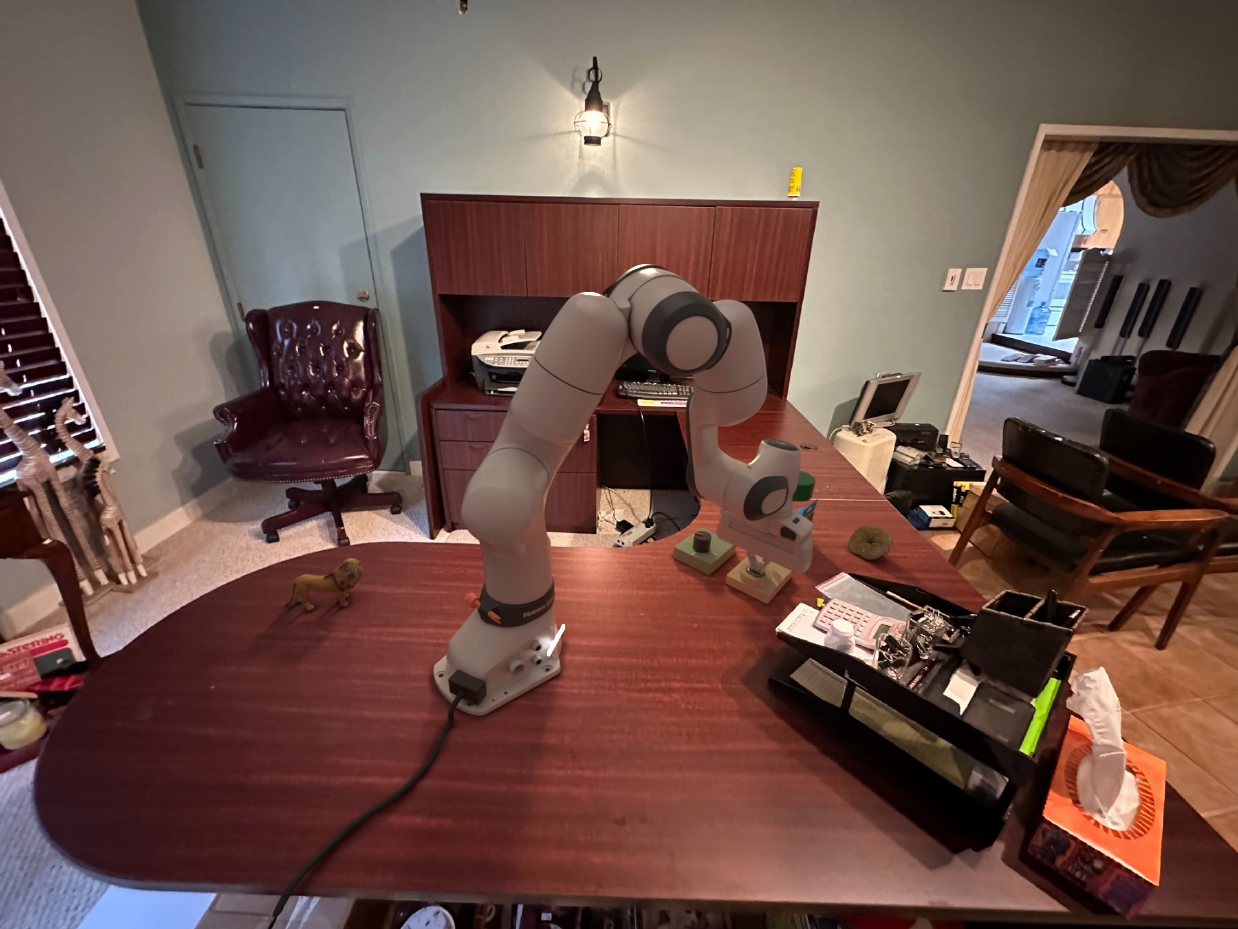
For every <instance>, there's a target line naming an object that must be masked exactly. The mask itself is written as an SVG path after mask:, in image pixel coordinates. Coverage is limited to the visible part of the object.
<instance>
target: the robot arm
mask: <svg viewBox="0 0 1238 929" xmlns="http://www.w3.org/2000/svg"><path fill="white" fill-rule="evenodd" d="M638 353H640V354H641V355H642V356H643V357H644V358H646V360H647V361H648V363H650V364H651V366H653V367H654V368H655V369H657V370H659V371H661V372H662V373H664V374H666V375H670V376H673V377H688V376H689V377H690V376H692V380H693V386H694V388H693V390H692V391H691V393H690V394H689V395H688V398H687V400H686V403H685V432H686V446H687V467H686V475H685V477H686V484H687V488H688V490H689V492H690V493H691V494H692V495H693V496H695V497H697V498H699V499H702V500H704V501H707V502H710V503H712V504H714V505H716V506H718V507H720V517H719V520H718V523H717V526H716V531H715V534H717V536H718V538H719V539H721V540H723V541H726V542H728V543H730V544H732V545H735V546H736V548H740V549H741V550H744V551H745V552H746V557H748V559H749V562H750V567H749V569H751V570H753V571H756V572H758V573H760V574H763V573H764V572H765V569H766V566H767V565H768V564H769V563H770V562H773V563H776V564H778V565H780V566H783V567H785V568H787V569H789V570H792V572H794V573H796V574H798V575H802V574H804V573H806V572H807V571H808V570H809V569H810V567H811V565H812V562H813V561H812V560H813V555H814V538H813V537H812V536H811V534H812V532H813V530H814V528H815V524H814V523H813V521H812V522H811V521H809V520H808V519H807V518H805V517H804V516H802V515H801V514H800V513H798V512H797V509H795V508H794V507H793V506H794V502H793V494H794V492H795V491H796V488H797V484H798V479H799V473H800V471H801V465H802V464H801V462H802V456H801V455H802V454H801V450H800V449H799V448H798V447H797V446H796V445H794V444H793V443H790V442H787V441H785V440H782V439H781V440H780V439H776V438H766V439H762V440H761V441H760V443H759V446H758V449H757V451H756V455H755V458H754V459H753V460H752V461H751V462H748V463H746V462H744V461H741V460H739V459H736V458H734V457H731V456H730V455H728V454H727V453H725V452H724V451H722V450H721V448H720V447H719V436H718V434H719V430H718V429H719V428H718V427H722V428H725V427H731V426H736V425H738V424H740V423H743V422H745V421H746V420H749V419H750V418H751V417H753V416H755V415H756V414H757V412H759V410H760V409H761V407H762V406H763V404H764V403H765V401H766V398H767V393H768V376H767V375H768V373H767V366H766V359H765V358H766V357H765V352H764V347H763V341H762V338H761V333H760V330H759V326H758V324H757V321H756V318H755V315H754V313H753V311H752V309H750V307H749V306H747V304H745V303H743V302H741V301H738V300H735V299H720V300H716V301H712V300H711V299H710V298H708V297H707V296H706V295H704V294H702V293H700V292H699V291H698V290H697V289H696V288H695V287H694V286H693V285H692V283H691V282H689V281H688V280H687V279H685V278H684V277H682V276H680V275H678V274H676V273H674V272H672V271H670V270H668V269H667V268H666V267H663V266H661V265H657V264H650V263H649V264H647V263H646V264H639V265H636V266H634V267H632V268H630V269H628V270H626V271H625V272H624V273H623V274H621V275H620V276H619V277H618V278H617V280H616V281H614V282H613V283H612V284H610V285H608V286H607V287H606V288H605V289H604V290H603V291H602V293H601V294H600V293H597V292H586V291H584V292H578V293H576V294H574V295H572V296H571V297H569V298H568V300H567V301H566V302H565V303H564V305H563V306H562V307H561V308H560V310H559V311H558V313H557V315H555V317H554V318H553V319H552V321H551V323H550V325H549V326H548V327H547V329H546V331H545V333H544V334H543V336H542V338H541V340H540V342H539V343H538V344H537V347H536V349H535V351H534V353H533V355H532V357H531V359H530V361H529V364H528V366H527V367H526V370H525V372H524V374H523V375H522V378H521V380H520V382H519V384H518V385H517V388H516V390H515V391H514V392H515V393H514V394H513V396H512V399H511V401H510V404H509V407H508V409H507V411H506V414H505V417H504V419H503V422H502V424H501V427H500V429H499V431H498V433H497V436H496V438H495V440H494V442H493V444H492V445H491V448H489V451H488V452H487V454H486V455H485V458H483V460H482V462H481V463H480V465H479V466H478V468H477V469H476V471H475V472H474V474H473V475H472V477H470V479H469V480H468V483H467V485H466V488H465V492H464V494H463V499H462V504H461V509H460V510H461V511H460V513H461V520H462V523H463V525H464V527H465V529H466V530H467V532H468V533H469V534H470V535H471V536H472V537H474V538H475V540H477V541H478V543H479V546H480V549H481V550H480V551H481V555H482V562H483V563H482V565H483V576H484V583H483V586H482V588H481V592H480V596H477V595H476V594H475V593H474V592H469V593H467V594H465V597H464V600H463V602H464V604H465V605H467V606H469V608H471V609H474V610H473V612H471V613H470V615H469V616H468V618H467V619H466V620H465V621H464V622H463V623H462V624H461V626H460V627H459V628H458V630H456V632H455V633H454V634H453V636H452V637H450V639H449V641H448V644H447V647H446V654H445V655H444V656H443V657H441V658H440V659H439V660H438V661H437V662H436V663H435V664H434V665H433V681H434V683H435V686H436V688H437V689H438V691H439V692H440V693H441V695H442V696H443V697H444V698H445V699H446V700H447V701H448V702H449V703H450V706H449V708H448V711H447V721H446V723H445V726H444V729H443V731H442V733H441V736H440V738H439V741H438V743H437V744H436V745H435V748H434V749H433V750H432V752H431V754H430V755H429V757H428V758H427V759H426V760H425V761H424V763H423V764H422V765H421V767H420V768H419V769H418V770H417V771H416V772H415V774H413V775H412V777H411V778H410V779H409V780H408V781H407V782H406V783H404V784H403V785H402V786H401V787H400V788H398V789H397V790H396V791H395V792H393V793H392V794H391V795H389V796H388V797H386V798H385V799H384V800H382V801H380V802H379V803H377V804H375V805H374V806H373V807H371V808H369V809H368V810H366V811H365V812H363V813H362V814H361V815H359V816H358V817H356V818H355V819H353V820H352V821H351V822H350V823H348V824H347V825H346V826H345V827H343V828H342V829H341V830H340V831H339V832H338V833H337V834H335V836H333V837H332V838H331V839H330V840H329V841H328V842H327V843H326V844H325V845H324V846H322V848H321V849H319V850H318V851H317V852H315V854H314V855H313V856H312V857H310V859H309V860H308V861H307V862H306V863H305V864H304V865H303V866H302V867H301V868H300V870H299V871H298V872H297V873H296V874H295V875H294V876H293V878H292V879H291V881H290V882H289V883H288V885H287V886H286V888H285V889H284V891H283V892H282V895H281V896H280V898H279V899H278V901H277V903H276V905H275V907H274V910H273V911H272V918H278V917H279V916H280V915H281V914H282V912H283V910H284V908H285V907H286V904H287V903H288V901H289V899H290V897H292V894H293V892H294V891H295V890H296V888H297V887H298V885H299V884H300V883H301V881H302V880H304V877H305V876H306V875H307V874H308V873H309V872H310V871H311V870H312V868H313V867H314V866H316V864H318V863H319V861H321V860H322V858H324V857H325V856H326V855H327V854H328V853H329V852H330V851H331V850H332V849H333V848H334V847H336V846H337V845H338V844H339V843H340V842H341V841H342V840H343V839H344V838H345V837H346V836H348V835H349V834H350V833H351V832H353V831H354V830H355V829H356V828H357V827H358V826H361V825H362V824H363V823H364V822H366V821H367V820H368V819H370V818H371V817H373V816H374V815H376V814H378V813H379V812H380V811H382V810H384V809H385V808H387V807H388V806H390V805H391V804H393V803H395V802H396V801H397V800H399V798H401V797H402V796H403V795H405V794H406V793H407V792H408V791H409V790H410V789H411V788H412V787H413V786H414V785H415V784H416V783H417V782H418V781H419V780H420V778H421V777H422V776H423V775H424V774H425V773H426V772H427V771H428V769H429V768H430V767H431V765H432V764H433V762H434V761H435V760H436V758H437V756H438V754H439V752H440V749H441V746H442V744H443V743H444V740H445V738H446V737H447V736H448V734H449V732H450V731H451V729H452V726H453V723H454V721H455V711H456V709H458V710H460V711H461V712H463V713H465V714H469V715H471V716H472V715H473V716H478V717H483V716H485V715H487V714H490V713H491V712H493V711H495V710H496V709H498V708H500V707H502V706H503V705H505V704H507V703H509V702H511V701H512V700H514V699H517V698H518V697H520V696H522V695H524V694H525V693H527V692H528V691H529V692H530V690H532V689H534V688H536V687H538V686H539V685H541V684H543V683H545V682H547V681H549V680H550V679H552V678H554V677H556V676H557V675H559V674H560V672H561V670H562V669H561V668H562V666H561V661H560V655H561V652H562V648H563V640H562V639H563V638H562V636H561V635H562V634H563V632H564V631H565V628H566V627H565V626H566V625H565V624H562V625H561V627H560V629H559V628H558V625H557V621H556V616H555V609H554V603H555V600H556V596H555V595H556V591H555V590H556V588H555V579H554V576H553V573H552V571H553V570H552V567H553V566H552V541H551V539H550V537H549V535H548V532H547V527H546V526H547V525H546V505H547V500H548V495H549V492H550V489H551V486H552V483H553V482H554V479H555V477H556V475H557V473H558V471H559V469H560V467H561V466H562V464H563V463H564V461H565V459H566V458H567V457H568V454H569V453H570V451H571V450H572V449H573V447H574V445H575V444H576V443H577V442H578V440H579V439H580V438H581V436H582V434H583V433H584V431H585V429H586V428H587V425H588V423H589V422H590V420H591V419H592V417H593V415H594V413H595V411H596V409H597V407H598V406H599V404H600V402H601V401H602V398H603V396H604V395H605V393H606V391H607V389H608V388H609V386H610V383H611V382H612V380H613V378H614V376H615V373H616V371H618V370H619V369H620V367H621V366H622V365H623V364H624V363H625V362H626V361H627V360H628V359H630V358H631V357H632V356H634V355H636V354H638ZM755 555H757V556H760V557H762V558H763V562H764V563H761V562H759V561H757V559H756V556H755Z"/></svg>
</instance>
